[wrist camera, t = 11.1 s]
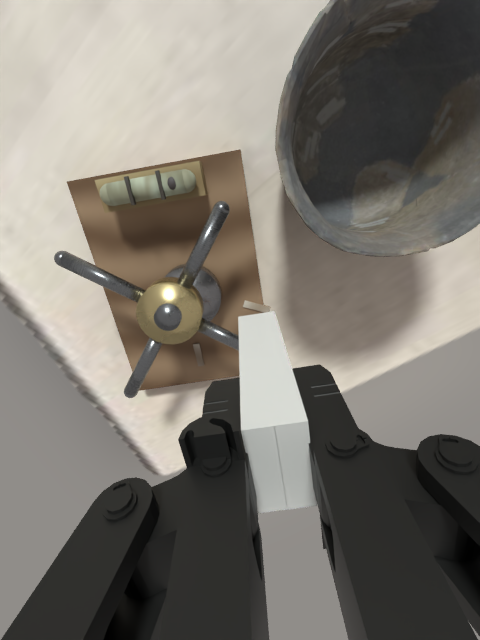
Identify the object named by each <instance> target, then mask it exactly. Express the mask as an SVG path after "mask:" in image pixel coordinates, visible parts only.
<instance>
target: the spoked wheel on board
mask: <svg viewBox="0 0 480 640" xmlns="http://www.w3.org/2000/svg"><path fill="white" fill-rule="evenodd" d="M67 184H68V187H69V190H70V192H71V195H72V198H73V201H74V204H75V207H76V210H77V213H78V216H79V218H80V221H81V224H82V227H83V230H84V233H85V236H86V239H87V242H88V244H89V247H90V250H91V253H92V256H93V259H94V262H95V265H96V266H97V267H99V268H101V269H103V270H105V271H107V272H109V273H111V274H113V275H115V276H117V277H120V278H122V279H124V280H126V281H128V282H130V283H132V284H134V285H136V286H138V287H140V288H142V289H144V290H147V288H148V287H149V286H150V285H151V284H152V283H153V282H155V281H157V280H159V279H161V278H164V277H165V276H166V275H167V273H168V272H169V271H170V270H172V269H173V268H175V267H176V266H179V265H182V264H186V262H187V260H188V258H189V256H190V254H191V252H192V250H193V248H194V246H195V244H196V242H197V240H198V238H199V236H200V234H201V232H202V230H203V228H204V226H205V223H206V221H207V219H208V217H209V215H210V213H211V211H212V209H213V207H214V205H215V204H216V203H217V202H219V201H225V202H226V203H227V204H228V205H229V207H230V212H229V215H228V217H227V219H226V221H225V222H224V224H223V226H222V228H221V230H220V232H219V234H218V236H217V238H216V240H215V242H214V244H213V246H212V248H211V250H210V252H209V254H208V256H207V258H206V260H205V262H204V264H203V267H205V268H207V269H209V270H210V271H211V272H212V273H213V274H214V275H215V276H216V278H217V279H218V281H219V283H220V286H221V292H222V293H221V304H220V308H219V310H218V313H217V314H216V316H215V317H214V318H213V319H212V320H211V321H210V322H212V323H214V324H216V325H218V326H220V327H222V328H224V329H226V330H229V331H231V332H233V333H235V334H237V335H239V330H238V317H240V316H246V315H253V314H259V313H264V312H269V311H270V308H271V307H269V306H265V305H263V300H262V293H261V286H260V279H259V273H258V266H257V259H256V252H255V245H254V239H253V232H252V225H251V218H250V211H249V205H248V198H247V191H246V184H245V177H244V171H243V164H242V157H241V150H236V151H230V152H225V153H219V154H214V155H209V156H203V157H198V158H192V159H187V160H182V161H176V162H171V163H165V164H160V165H155V166H149V167H144V168H139V169H133V170H128V171H122V172H117V173H112V174H106V175H101V176H95V177H90V178H85V179H79V180H74V181H69V182H67ZM103 288H104V291H105V293H106V296H107V299H108V302H109V305H110V308H111V311H112V314H113V317H114V319H115V322H116V325H117V328H118V331H119V334H120V337H121V340H122V342H123V345H124V348H125V351H126V354H127V357H128V360H129V363H130V366H131V368H132V371H134V369H135V367H136V365H137V363H138V361H139V358H140V356H141V354H142V352H143V350H144V348H145V346H146V344H147V342H148V340H149V338H150V337H149V336H148V335H146V334H145V333H144V331H143V330H142V329H141V327H140V326H139V323H138V321H137V317H136V307H137V302H135V301H133V300H130V299H128V298H126V297H124V296H122V295H120V294H118V293H116V292H114V291H112V290H109V289H107V288H105V287H103ZM233 376H240V372H239V351H238V350H236V349H234V348H231V347H229V346H227V345H225V344H223V343H221V342H219V341H217V340H215V339H213V338H210V337H208V336H206V335H204V334H202V333H200V332H198V331H197V332H196V333H195V334H194V336H192V337H191V338H190V339H189V340H187V341H185V342H182V343H179V344H164V343H163V344H162V346H161V348H160V350H159V352H158V354H157V356H156V358H155V360H154V362H153V364H152V366H151V368H150V370H149V371H148V373H147V375H146V377H145V379H144V381H143V383H142V385H141V387H140V389H139V390H146V389H153V388H159V387H166V386H173V385H180V384H186V383H193V382H200V381H206V380H213V379H220V378H226V377H233Z"/></svg>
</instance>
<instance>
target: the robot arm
mask: <svg viewBox="0 0 480 640" xmlns="http://www.w3.org/2000/svg"><path fill="white" fill-rule="evenodd" d="M238 330H239V372H240V378H234V379H227V380H221V381H214V382H212V384H211V385H210V386H209V388H208V389H207V391H206V392H205V399H204V406H203V414H202V417H201V418H199V419H197V420H195V421H193V422H192V423H190V424H189V425H188V426H187V427H186V428H185V429H184V430H183V431H182V433H181V435H180V437H179V439H178V440H179V444H180V447H181V450H182V453H183V456H184V460H185V463H186V466H187V469H186V470H184V471H183V472H182V473H181V474H179V475H178V476H176V477H174V478H172V479H170V480H168V481H165V482H163V483H161V484H158V485H156V486H154V487H151V486H150V485H149V484H148V483H147V481H145V480H143V479H140V478H127V479H124V480H121V481H119V482H116V483H114V484H112V485H111V486H110V487H108V488H107V489H106V490H104V491H103V492H102V493H101V494H100V495H99V496H98V498H97V499H96V500H95V501H94V502H93V504H92V505H91V507H90V508H89V510H88V511H87V513H86V514H85V516H84V517H83V519H82V520H81V522H80V523H79V525H78V526H77V528H76V529H75V531H74V532H73V534H72V535H71V536H70V538H69V540H68V541H67V543H66V544H65V545H64V547H63V548H62V550H61V551H60V553H59V554H58V556H57V557H56V559H55V560H54V562H53V563H52V565H51V566H50V568H49V569H48V571H47V572H46V574H45V575H44V577H43V578H42V580H41V581H40V583H39V584H38V586H37V587H36V589H35V590H34V592H33V593H32V594H31V596H30V597H29V599H28V600H27V602H26V603H25V605H24V607H23V608H22V609H21V611H20V613H19V614H18V615H17V617H16V618H15V620H14V621H13V623H12V624H11V626H10V627H9V629H8V630H7V632H6V633H5V635H4V636H3V638H2V639H1V640H269V631H268V619H267V606H266V594H265V579H264V566H263V553H262V542H261V541H262V540H261V533H260V528H259V524H258V513H264V512H272V511H280V510H288V509H295V508H303V507H311V506H317V504H318V508H319V512H320V519H321V529H322V539H323V548H324V549H327V553H328V557H329V561H330V565H331V570H332V573H333V578H334V582H335V586H336V590H337V594H338V598H339V602H340V606H341V610H342V614H343V618H344V623H345V627H346V631H347V635H348V639H349V640H478V639H477V637H476V635H475V634H474V631H473V629H472V628H471V626H470V624H471V625H472V627H473V628H474V629H475V631H476V632H477V633H478V635H479V636H480V446H478V445H477V444H475V443H473V442H472V441H469V440H466V439H463V438H461V437H458V436H453V435H442V434H440V435H435V436H429V437H427V438H426V439H424V440H423V441H421V442H420V444H419V447H418V449H417V450H409V449H400V448H393V447H388V446H384V445H381V444H378V443H376V442H374V441H373V440H372V439H371V438H370V437H369V435H368V434H367V433H365V432H363V431H362V430H360V429H359V428H358V427H357V425H356V423H355V421H354V419H353V417H352V415H351V413H350V411H349V409H348V407H347V405H346V403H345V401H344V399H343V397H342V395H341V393H340V391H339V389H338V387H337V385H336V383H335V381H334V379H333V376H332V374H331V372H329V371H328V370H327V369H325V368H324V367H322V366H321V365H314V366H307V367H300V368H294V369H292V366H291V363H290V360H289V357H288V353H287V350H286V347H285V343H284V340H283V337H282V334H281V330H280V327H279V324H278V320H277V317H276V314H275V311H271V312H265V313H259V314H253V315H246V316H240V317H238ZM316 500H317V501H316ZM257 509H258V511H257ZM468 621H469V622H468ZM469 623H470V624H469Z"/></svg>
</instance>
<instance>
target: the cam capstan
mask: <svg viewBox="0 0 480 640" xmlns="http://www.w3.org/2000/svg"><path fill="white" fill-rule="evenodd" d="M229 212H230V207H229V205H228V204H227V203H226V202H225V201H219V202H217V203H216V204H215V205H214V207H213V209H212V211H211V213H210V215H209V217H208V219H207V221H206V223H205V226H204V228H203V230H202V232H201V234H200V236H199V238H198V240H197V242H196V244H195V246H194V248H193V250H192V252H191V254H190V256H189V258H188V260H187V262H186V264H182V265H179V266H176V267H175V268H173V269H172V270H170V271H169V272H168V273H167V275H166V276H165V277H164V278H161V279H159V280H157V281H155V282H153V283H152V284H151V285H150V286H149V287H148V288H147V290H144V289H142V288H140V287H138V286H136V285H134V284H132V283H130V282H128V281H126V280H124V279H122V278H120V277H117V276H115V275H113V274H111V273H109V272H107V271H105V270H103V269H101V268H99V267H97V266H95V265H93V264H91V263H89V262H87V261H85V260H83V259H80V258H78V257H76V256H74V255H72V254H70V253H68V252H66V251H59V252H57V253H56V254H55V256H54V260H55V262H56V264H58V265H59V266H61V267H63V268H65V269H67V270H69V271H72V272H74V273H76V274H78V275H80V276H82V277H84V278H86V279H88V280H91V281H93V282H95V283H97V284H99V285H101V286H103V287H105V288H107V289H109V290H112V291H114V292H116V293H118V294H120V295H122V296H124V297H126V298H128V299H130V300H133V301H135V302H137V307H136V317H137V321H138V323H139V326H140V327H141V329H142V330H143V331H144V333H145V334H146V335H148V336H149V337H150V338H149V340H148V342H147V344H146V346H145V348H144V350H143V352H142V354H141V356H140V358H139V361H138V363H137V365H136V367H135V369H134V371H133V373H132V375H131V377H130V379H129V381H128V383H127V385H126V387H125V389H124V394H125V396H126V397H128V398H133V397H135V396H136V395H137V393H138V391H139V389H140V387H141V385H142V383H143V381H144V379H145V377H146V375H147V373H148V371H149V370H150V368H151V366H152V364H153V362H154V360H155V358H156V356H157V354H158V352H159V350H160V348H161V346H162V344H163V343H164V344H179V343H182V342H185V341H187V340H189V339H190V338H191V337H192V336H194V334H195V333H196V332H197V331H198V332H200V333H202V334H204V335H206V336H208V337H210V338H213V339H215V340H217V341H219V342H221V343H223V344H225V345H227V346H229V347H231V348H234V349H236V350H238V351H239V335H237V334H235V333H233V332H231V331H229V330H226V329H224V328H222V327H220V326H218V325H216V324H214V323H212V322H210V321H211V320H212V319H213V318H214V317H215V316H216V314H217V313H218V310H219V308H220V304H221V293H222V292H221V286H220V283H219V281H218V279H217V278H216V276H215V275H214V274H213V273H212V272H211V271H210V270H209V269H207V268H205V267H203V264H204V262H205V260H206V258H207V256H208V254H209V252H210V250H211V248H212V246H213V244H214V242H215V240H216V238H217V236H218V234H219V232H220V230H221V228H222V226H223V224H224V222H225V221H226V219H227V217H228V215H229Z"/></svg>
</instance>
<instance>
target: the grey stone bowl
mask: <svg viewBox="0 0 480 640" xmlns="http://www.w3.org/2000/svg"><path fill="white" fill-rule="evenodd" d="M275 150H276V155H277V159H278V164H279V169H280V174H281V178H282V181H283V184H284V187H285V190H286V193H287V196H288V198H289V200H290V202H291V203H292V205H293V206H294V208H295V209H296V211H297V212H298V214H299V215H300V216H301V218H302V219H303V221H304V222H305V224H306V225H307V226H308V227H309V228H310V229H311V230H312V231H313V232H314V233H315V234H316V235H318V236H319V237H320V238H321V239H322V240H324V241H326V242H327V243H329V244H331V245H332V246H334V247H336V248H338V249H340V250H342V251H346V252H350V253H355V254H362V255H368V256H384V257H391V256H404V255H409V254H414V253H420V252H425V251H428V250H429V249H430V248H436V247H439V246H442V245H444V244H447V243H449V242H452V241H454V240H455V239H457V238H459V237H460V236H462V235H464V234H466V233H467V232H469V231H471V230H472V229H473V228H474V227H476V226H477V225H478V224H480V0H330V2H329V3H328V4H327V6H326V7H325V8H324V9H323V10H322V11H320V12H319V14H318V16H317V17H316V19H315V21H314V22H313V24H312V26H311V27H310V29H309V30H308V32H307V34H306V36H305V38H304V40H303V42H302V44H301V45H300V47H299V49H298V51H297V53H296V55H295V57H294V61H293V65H292V69H291V71H290V72H289V74H288V75H287V78H286V81H285V85H284V88H283V91H282V95H281V99H280V104H279V110H278V118H277V125H276V146H275Z"/></svg>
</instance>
